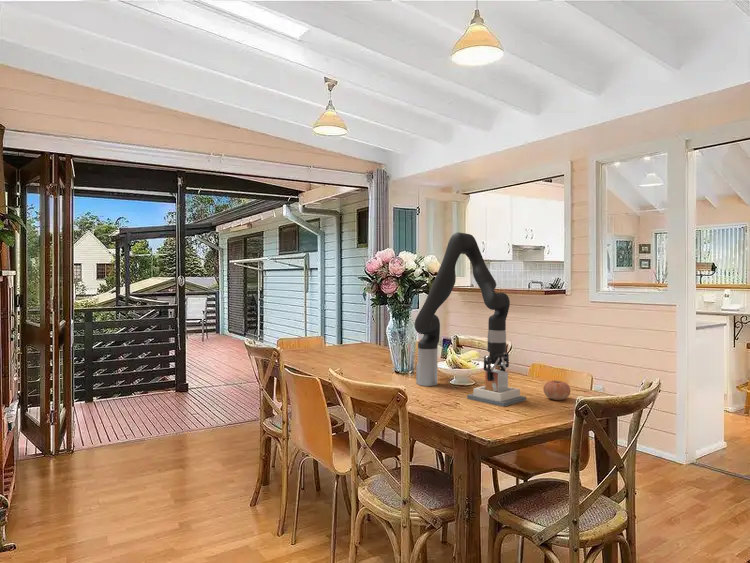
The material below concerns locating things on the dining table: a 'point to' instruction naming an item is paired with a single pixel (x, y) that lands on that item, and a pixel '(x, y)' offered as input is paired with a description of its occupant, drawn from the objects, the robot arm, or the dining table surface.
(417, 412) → the dining table surface
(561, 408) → the dining table surface
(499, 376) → the small box
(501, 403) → the socket board
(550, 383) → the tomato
